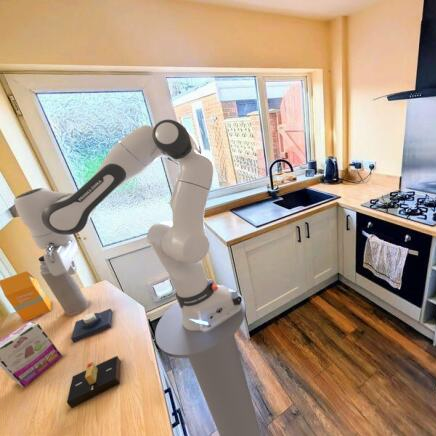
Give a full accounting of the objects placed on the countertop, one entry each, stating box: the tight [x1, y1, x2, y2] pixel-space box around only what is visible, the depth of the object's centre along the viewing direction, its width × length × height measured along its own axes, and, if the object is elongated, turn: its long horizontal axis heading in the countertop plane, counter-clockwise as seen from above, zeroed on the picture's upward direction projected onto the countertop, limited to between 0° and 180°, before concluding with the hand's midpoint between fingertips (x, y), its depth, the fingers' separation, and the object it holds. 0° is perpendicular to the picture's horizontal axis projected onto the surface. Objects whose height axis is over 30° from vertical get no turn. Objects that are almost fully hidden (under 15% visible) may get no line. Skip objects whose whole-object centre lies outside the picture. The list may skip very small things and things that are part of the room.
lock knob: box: [85, 361, 98, 385], centre depth 74 cm, size 5×1×4 cm, turn 31°
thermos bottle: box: [38, 255, 89, 317], centre depth 104 cm, size 8×8×28 cm
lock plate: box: [66, 355, 122, 409], centre depth 76 cm, size 12×9×3 cm
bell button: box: [82, 312, 96, 323], centre depth 97 cm, size 4×4×2 cm
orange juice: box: [0, 270, 52, 323], centre depth 106 cm, size 8×9×20 cm
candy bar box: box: [0, 320, 63, 388], centre depth 79 cm, size 11×5×16 cm, turn 161°
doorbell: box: [70, 308, 113, 344], centre depth 98 cm, size 12×10×4 cm
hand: (73, 272), depth 86 cm, fingers closed
